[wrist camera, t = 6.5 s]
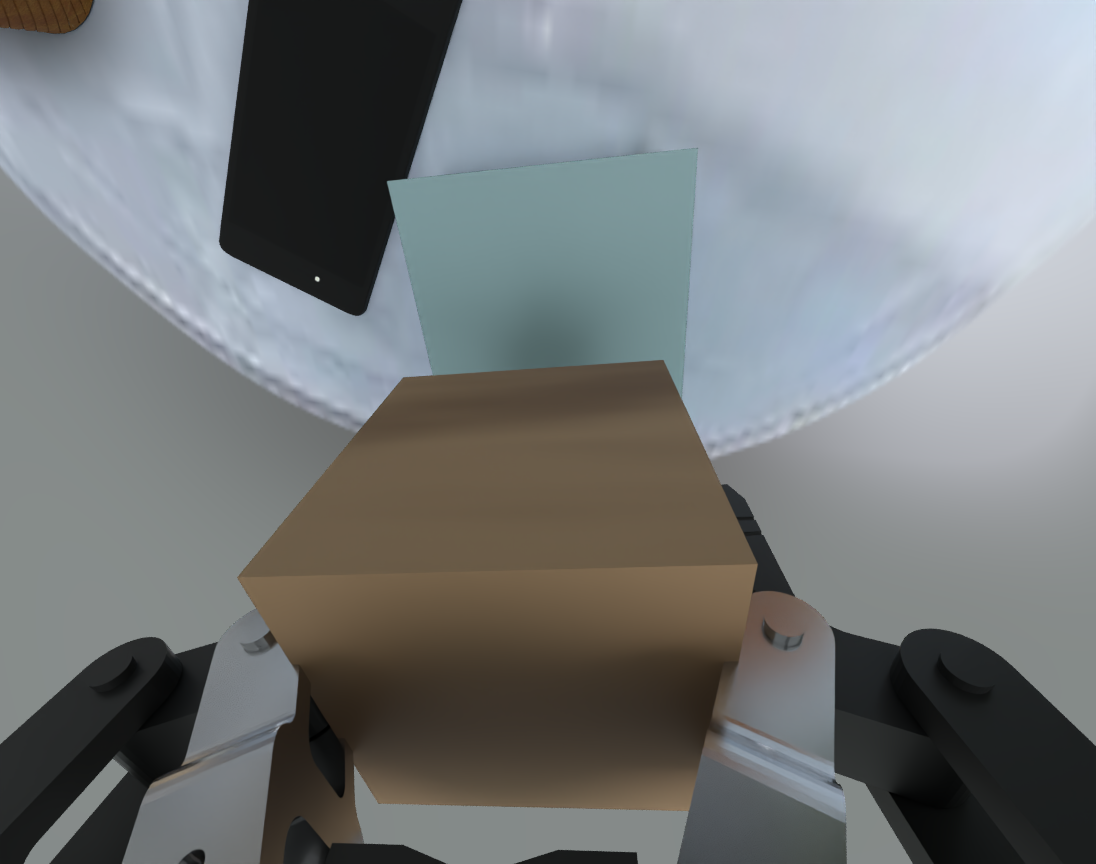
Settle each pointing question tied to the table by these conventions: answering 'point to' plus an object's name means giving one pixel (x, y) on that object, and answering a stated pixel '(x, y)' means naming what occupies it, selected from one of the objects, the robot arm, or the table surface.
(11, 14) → the disposable coffee cup
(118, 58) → the table surface
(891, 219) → the table surface
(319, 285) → the cell phone
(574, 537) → the walnut cube
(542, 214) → the stand
